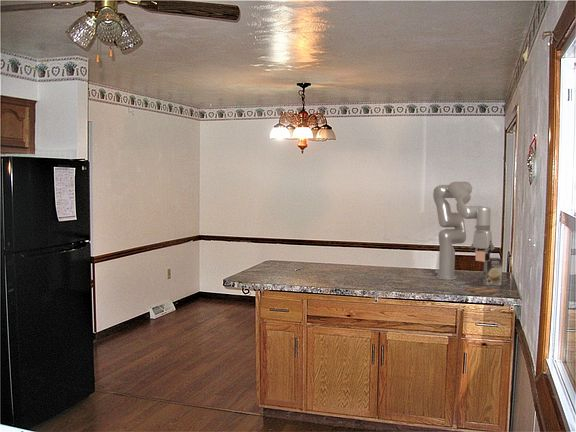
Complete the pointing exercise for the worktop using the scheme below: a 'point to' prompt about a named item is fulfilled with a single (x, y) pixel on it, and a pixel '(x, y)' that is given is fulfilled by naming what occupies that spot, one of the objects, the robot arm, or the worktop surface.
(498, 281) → the coffee box
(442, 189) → the robot arm
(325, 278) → the worktop surface
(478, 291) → the walnut board
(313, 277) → the worktop surface
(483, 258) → the cube
